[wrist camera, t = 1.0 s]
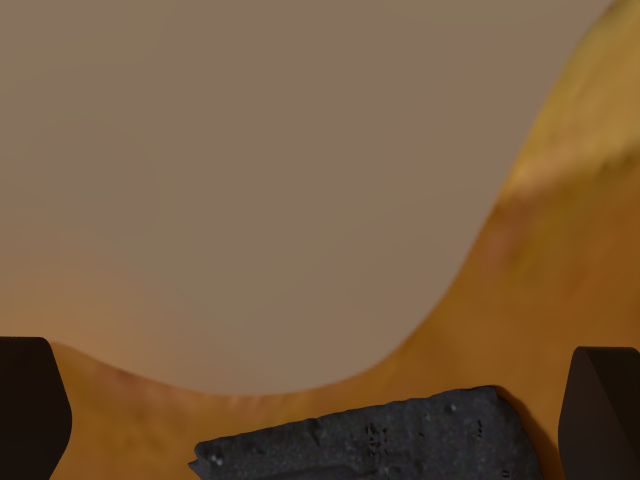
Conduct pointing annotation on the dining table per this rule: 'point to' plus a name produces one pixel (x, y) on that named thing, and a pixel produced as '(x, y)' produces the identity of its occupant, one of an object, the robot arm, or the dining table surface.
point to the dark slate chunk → (383, 444)
